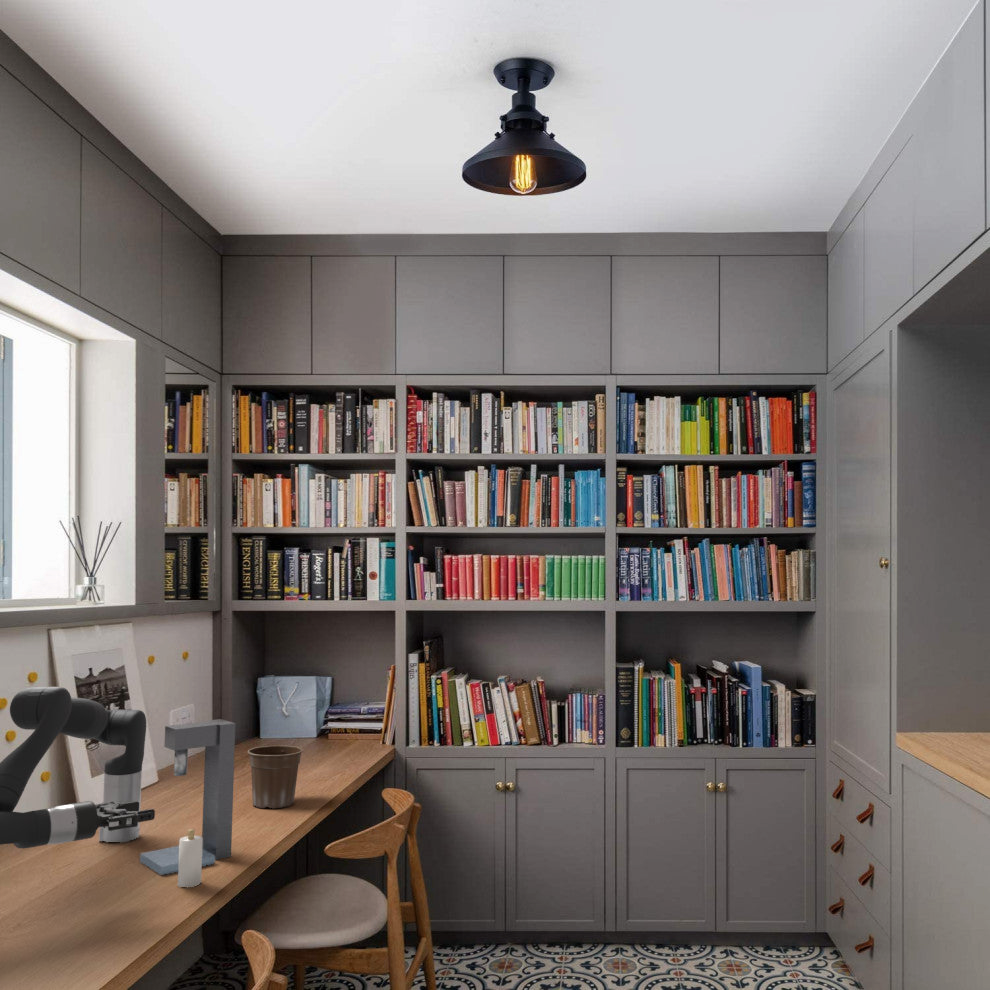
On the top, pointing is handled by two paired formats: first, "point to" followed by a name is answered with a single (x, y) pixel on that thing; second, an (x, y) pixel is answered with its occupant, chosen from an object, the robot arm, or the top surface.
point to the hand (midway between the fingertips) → (146, 810)
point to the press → (216, 789)
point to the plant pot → (274, 775)
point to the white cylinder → (190, 860)
